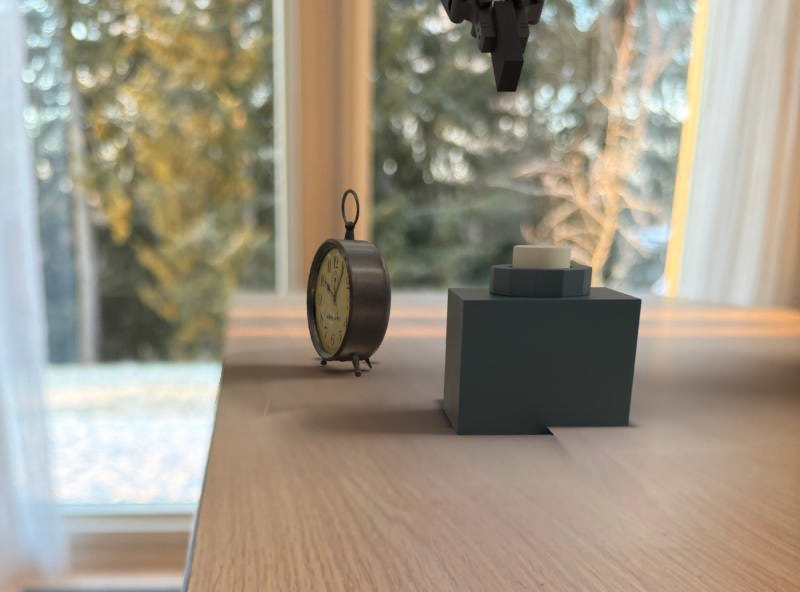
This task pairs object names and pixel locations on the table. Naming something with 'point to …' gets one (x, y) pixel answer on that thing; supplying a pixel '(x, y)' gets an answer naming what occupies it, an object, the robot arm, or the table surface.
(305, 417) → the table surface
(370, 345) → the alarm clock
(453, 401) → the block with cream knob
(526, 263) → the lid button
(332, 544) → the table surface
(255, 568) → the table surface
